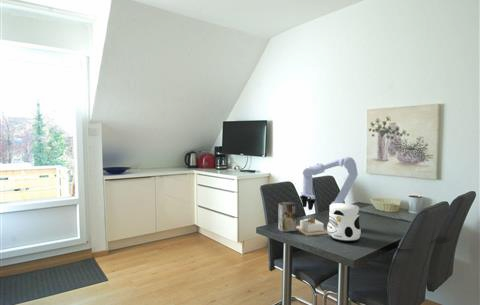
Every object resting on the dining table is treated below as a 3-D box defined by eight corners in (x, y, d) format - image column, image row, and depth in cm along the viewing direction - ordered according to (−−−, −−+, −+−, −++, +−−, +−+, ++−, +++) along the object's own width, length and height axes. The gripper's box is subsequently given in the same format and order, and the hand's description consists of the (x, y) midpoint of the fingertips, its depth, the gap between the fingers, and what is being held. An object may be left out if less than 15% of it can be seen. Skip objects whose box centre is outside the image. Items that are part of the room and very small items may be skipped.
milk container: (321, 238, 168) (321, 205, 167) (336, 231, 180) (337, 201, 179) (351, 246, 156) (352, 211, 155) (365, 238, 168) (366, 206, 167)
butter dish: (316, 225, 194) (316, 217, 193) (331, 233, 177) (331, 224, 177) (292, 227, 189) (293, 219, 189) (306, 235, 173) (306, 226, 173)
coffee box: (291, 227, 187) (292, 201, 187) (296, 230, 181) (296, 204, 181) (277, 228, 185) (278, 202, 184) (282, 232, 179) (282, 204, 178)
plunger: (313, 225, 188) (314, 216, 187) (320, 229, 181) (320, 219, 180) (303, 226, 186) (303, 217, 185) (309, 230, 179) (309, 220, 178)
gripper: (296, 185, 199) (296, 206, 200) (307, 189, 185) (307, 211, 186) (306, 185, 201) (306, 205, 202) (318, 188, 187) (317, 210, 188)
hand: (307, 208), depth 194 cm, fingers open, 7 cm apart
